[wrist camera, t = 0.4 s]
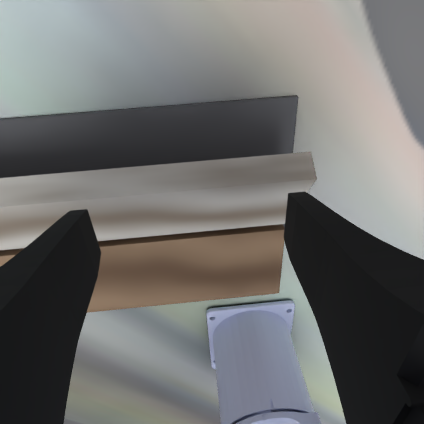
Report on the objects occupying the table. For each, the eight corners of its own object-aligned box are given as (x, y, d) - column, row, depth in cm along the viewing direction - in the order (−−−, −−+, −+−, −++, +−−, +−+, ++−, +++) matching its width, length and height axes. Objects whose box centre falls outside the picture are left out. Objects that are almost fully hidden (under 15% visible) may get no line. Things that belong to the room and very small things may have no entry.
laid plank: (274, 279, 27) (279, 293, 26) (8, 305, 26) (0, 321, 25) (279, 216, 23) (285, 229, 22) (-30, 245, 23) (-42, 260, 21)
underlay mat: (279, 276, 28) (280, 278, 27) (3, 303, 27) (2, 306, 26) (296, 95, 19) (298, 96, 19) (-111, 127, 18) (-115, 129, 18)
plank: (281, 203, 23) (285, 223, 22) (-41, 232, 22) (-45, 254, 21) (310, 151, 16) (316, 179, 15) (-151, 190, 15) (-160, 221, 15)
